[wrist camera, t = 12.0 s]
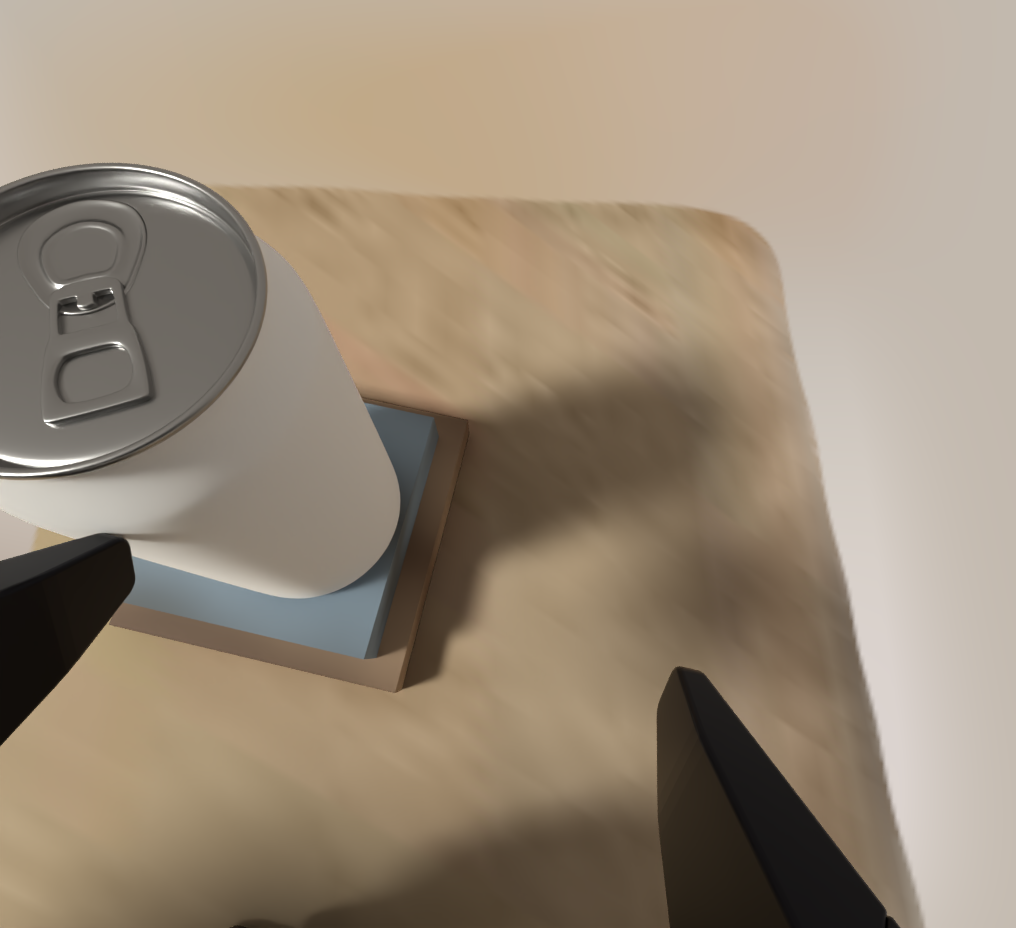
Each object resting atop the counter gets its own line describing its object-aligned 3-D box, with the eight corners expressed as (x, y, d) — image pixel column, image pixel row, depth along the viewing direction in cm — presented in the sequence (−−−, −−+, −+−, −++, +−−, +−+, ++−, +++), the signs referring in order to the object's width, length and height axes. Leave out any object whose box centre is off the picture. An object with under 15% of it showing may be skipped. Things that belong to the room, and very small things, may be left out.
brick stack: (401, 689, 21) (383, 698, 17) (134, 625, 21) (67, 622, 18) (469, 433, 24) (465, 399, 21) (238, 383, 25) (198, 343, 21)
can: (377, 406, 21) (252, 110, 10) (424, 565, 19) (336, 427, 8) (206, 455, 20) (-159, 188, 9) (236, 627, 18) (-188, 578, 7)
